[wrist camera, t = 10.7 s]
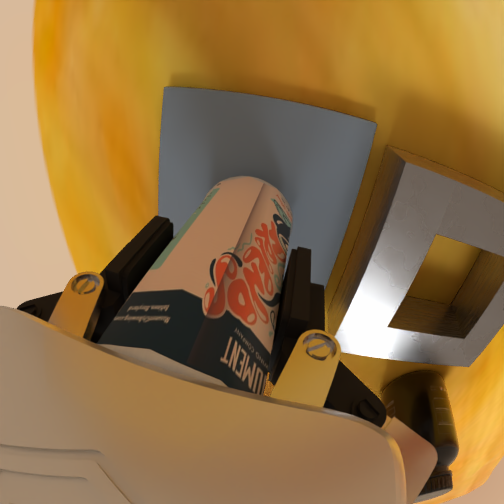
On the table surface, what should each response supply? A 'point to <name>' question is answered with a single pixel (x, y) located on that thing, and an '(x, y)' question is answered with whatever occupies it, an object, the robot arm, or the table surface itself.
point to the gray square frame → (410, 259)
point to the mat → (265, 161)
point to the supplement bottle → (426, 422)
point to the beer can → (213, 290)
